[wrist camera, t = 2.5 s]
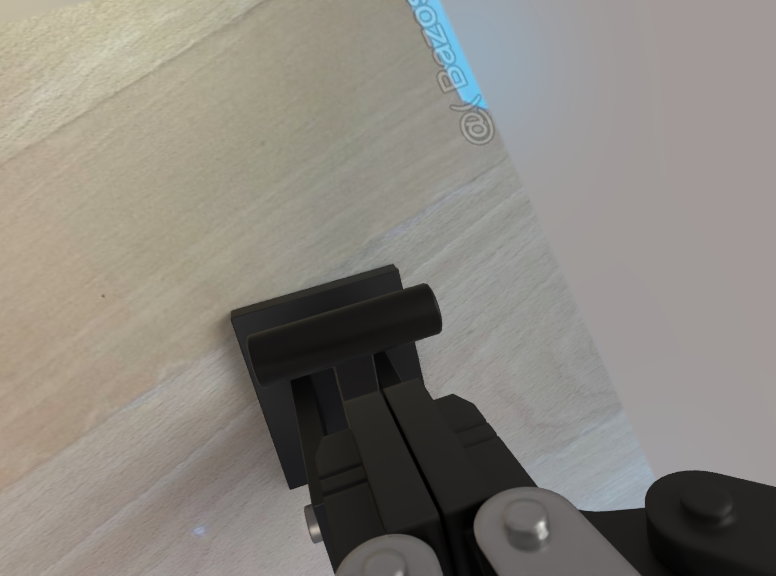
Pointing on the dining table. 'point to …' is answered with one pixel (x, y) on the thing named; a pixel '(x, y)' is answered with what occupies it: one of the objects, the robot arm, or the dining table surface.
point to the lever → (345, 340)
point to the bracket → (317, 382)
